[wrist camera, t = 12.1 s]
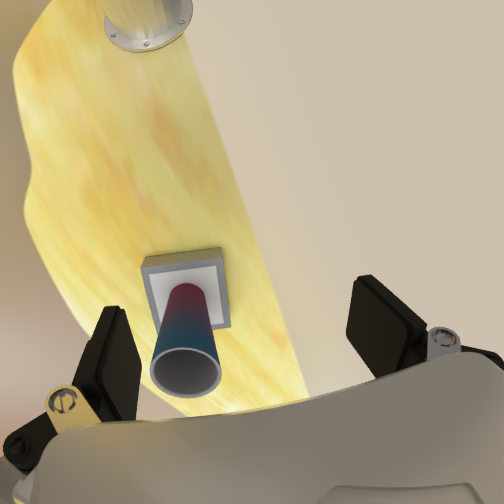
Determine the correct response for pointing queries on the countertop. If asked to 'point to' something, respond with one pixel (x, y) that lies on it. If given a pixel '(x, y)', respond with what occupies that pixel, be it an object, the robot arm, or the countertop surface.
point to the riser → (187, 271)
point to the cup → (186, 346)
